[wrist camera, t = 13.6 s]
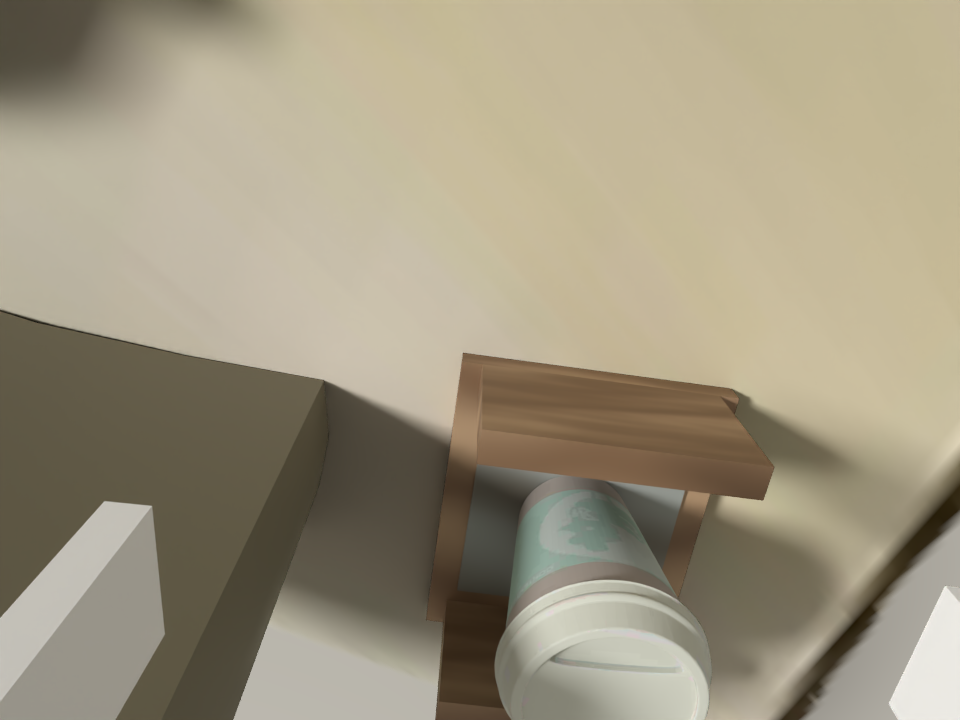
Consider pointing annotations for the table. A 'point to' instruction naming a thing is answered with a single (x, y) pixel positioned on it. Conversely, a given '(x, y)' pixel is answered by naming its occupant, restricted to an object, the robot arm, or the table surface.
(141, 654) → the robot arm
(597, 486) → the coffee cup
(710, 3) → the table surface
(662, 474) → the holder
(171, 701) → the book
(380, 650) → the table surface
